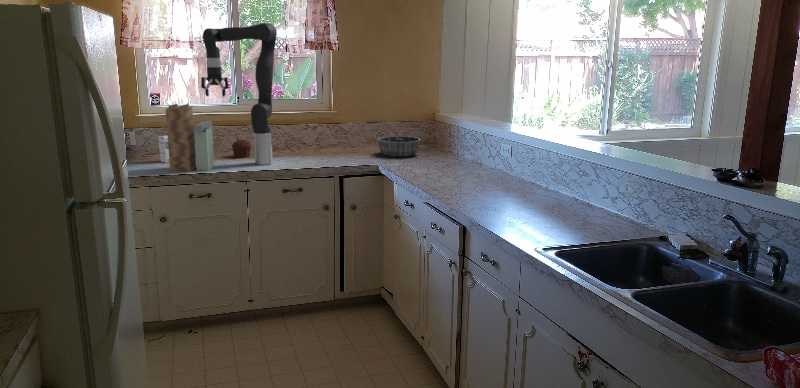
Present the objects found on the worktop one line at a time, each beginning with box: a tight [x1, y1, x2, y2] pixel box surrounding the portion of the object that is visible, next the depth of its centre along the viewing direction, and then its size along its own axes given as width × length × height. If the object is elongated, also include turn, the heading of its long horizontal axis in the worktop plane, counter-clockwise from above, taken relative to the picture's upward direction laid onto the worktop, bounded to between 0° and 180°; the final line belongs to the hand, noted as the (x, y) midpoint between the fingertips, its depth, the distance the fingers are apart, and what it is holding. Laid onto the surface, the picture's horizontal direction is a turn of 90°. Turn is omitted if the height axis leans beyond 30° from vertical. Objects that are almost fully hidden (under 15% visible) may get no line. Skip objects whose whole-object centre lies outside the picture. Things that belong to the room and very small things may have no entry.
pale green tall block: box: [194, 127, 215, 171], centre depth 318 cm, size 6×12×21 cm, turn 3°
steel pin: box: [193, 120, 213, 133], centre depth 316 cm, size 4×20×4 cm, turn 3°
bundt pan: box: [376, 135, 422, 158], centre depth 368 cm, size 26×26×10 cm
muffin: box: [231, 138, 252, 159], centre depth 355 cm, size 12×11×10 cm
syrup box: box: [157, 134, 170, 163], centre depth 337 cm, size 6×6×14 cm
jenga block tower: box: [165, 103, 197, 172], centre depth 314 cm, size 10×12×34 cm
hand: (215, 96), depth 334 cm, fingers open, 8 cm apart
